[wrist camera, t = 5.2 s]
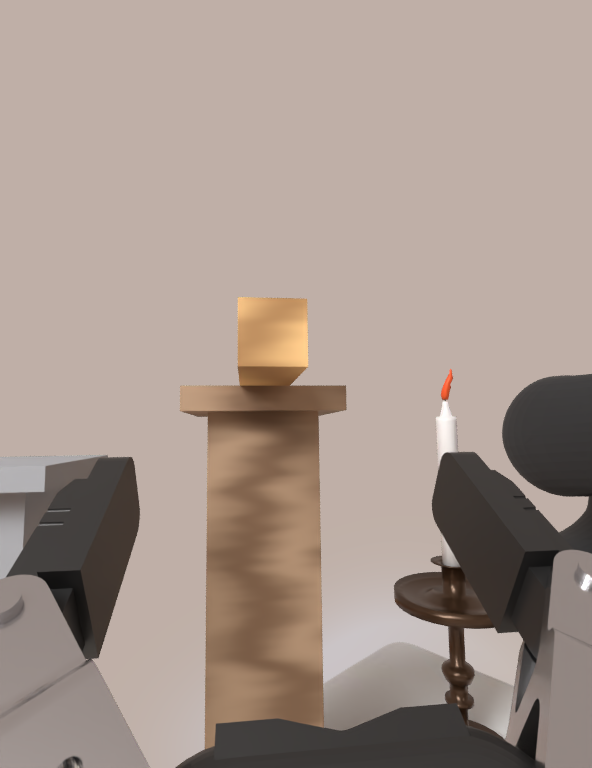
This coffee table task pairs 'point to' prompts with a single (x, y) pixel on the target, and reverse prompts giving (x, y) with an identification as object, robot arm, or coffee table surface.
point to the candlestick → (447, 591)
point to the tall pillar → (263, 551)
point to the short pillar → (32, 496)
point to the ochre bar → (271, 340)
